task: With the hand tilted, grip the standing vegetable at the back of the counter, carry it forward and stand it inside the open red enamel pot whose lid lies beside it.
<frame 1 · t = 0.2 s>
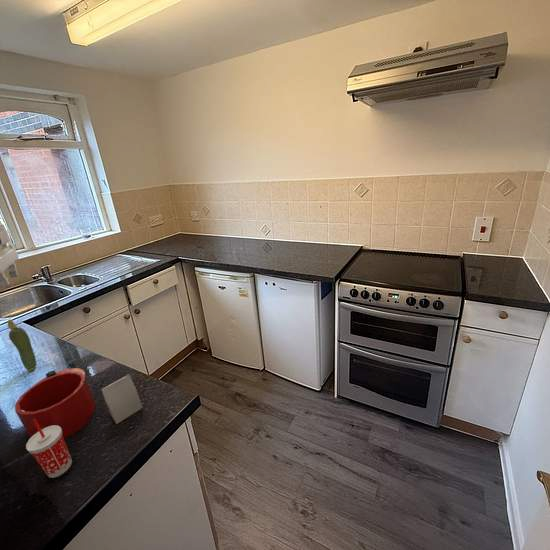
hand: (10, 280, 94), 31 cm above the countertop, tool pointing down, fingers open, 8 cm apart
beverage cup: (60, 468, 65), on the countertop
grey rectangular block: (127, 412, 78), on the countertop
pot: (65, 419, 79), on the countertop
lid: (56, 386, 91), point 1 cm above the countertop
vegetable: (35, 369, 102), on the countertop
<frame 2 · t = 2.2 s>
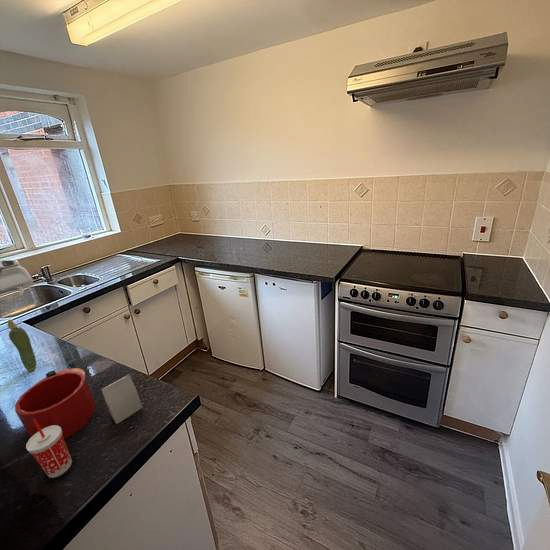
hand: (3, 304, 102), 22 cm above the countertop, tool tilted 45°, fingers open, 8 cm apart
nothing on the countertop moved.
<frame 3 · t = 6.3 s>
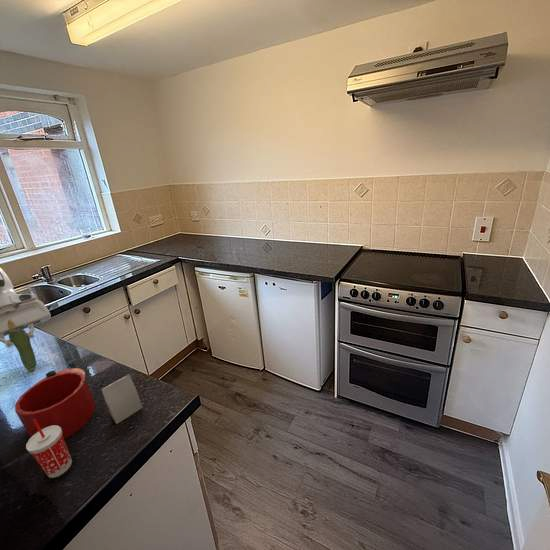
hand: (21, 341, 97), 11 cm above the countertop, tool tilted 45°, fingers closed on vegetable, 4 cm apart
vegetable: (35, 369, 102), on the countertop, touching gripper
everything else where it was.
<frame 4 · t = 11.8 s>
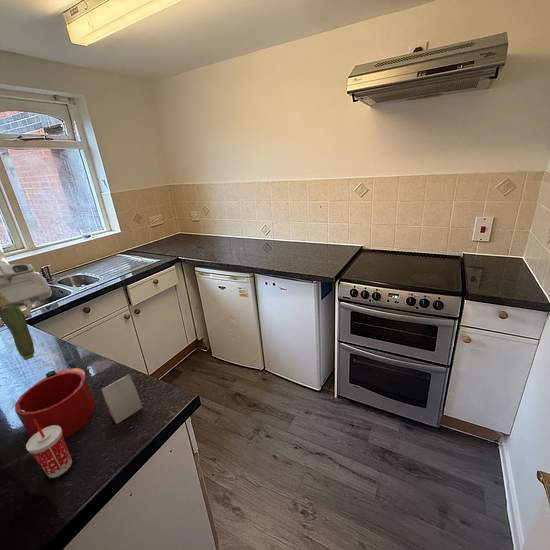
hand: (15, 322, 78), 25 cm above the countertop, tool tilted 45°, fingers closed on vegetable, 4 cm apart
vegetable: (32, 357, 82), point 14 cm above the countertop, touching gripper
everything else where it was.
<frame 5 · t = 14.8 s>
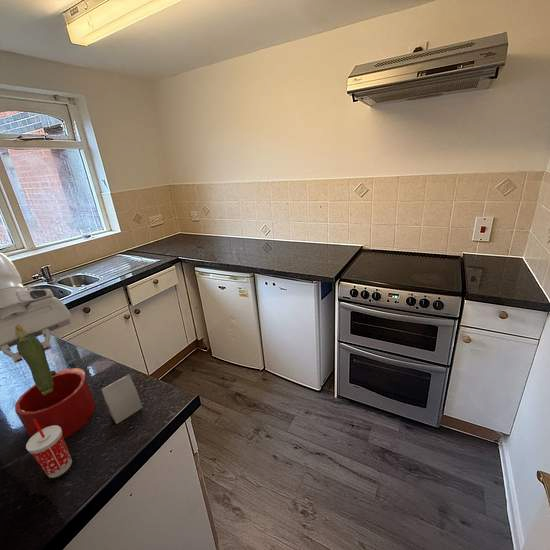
hand: (33, 354, 71), 21 cm above the countertop, tool tilted 45°, fingers closed on vegetable, 4 cm apart
vegetable: (51, 391, 75), point 9 cm above the countertop, touching gripper
everything else where it was.
when the fingers open (12 cm above the countertop, at t = 17.6 s): vegetable stays where it is, resting on pot.
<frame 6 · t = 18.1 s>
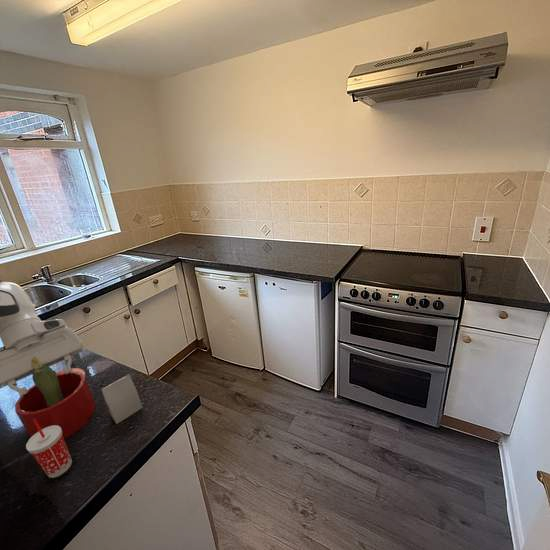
hand: (48, 384, 74), 12 cm above the countertop, tool tilted 45°, fingers open, 8 cm apart
vegetable: (64, 418, 78), resting on pot
everything else where it was.
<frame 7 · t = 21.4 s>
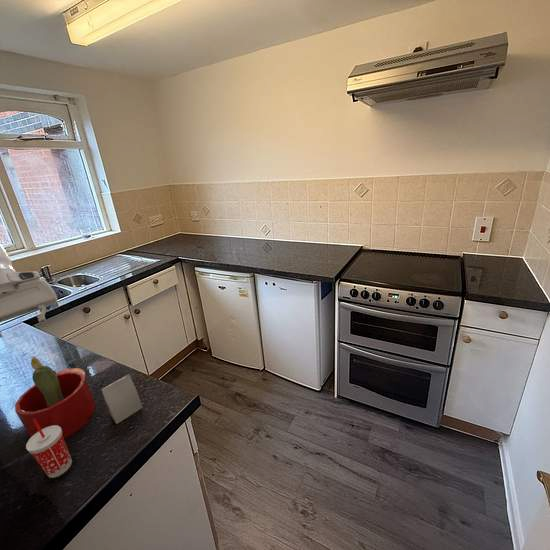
hand: (21, 329, 78), 23 cm above the countertop, tool tilted 45°, fingers open, 8 cm apart
nothing on the countertop moved.
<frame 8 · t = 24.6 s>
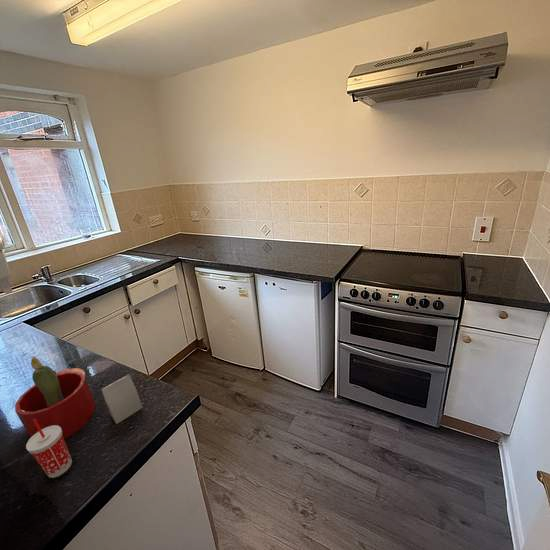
hand: (7, 288, 86), 31 cm above the countertop, tool pointing down, fingers open, 8 cm apart
nothing on the countertop moved.
at the end: vegetable inside the target area in the pot (0.1 cm from its centre), point 0.3 cm above the pot's base; the gripper is holding nothing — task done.
